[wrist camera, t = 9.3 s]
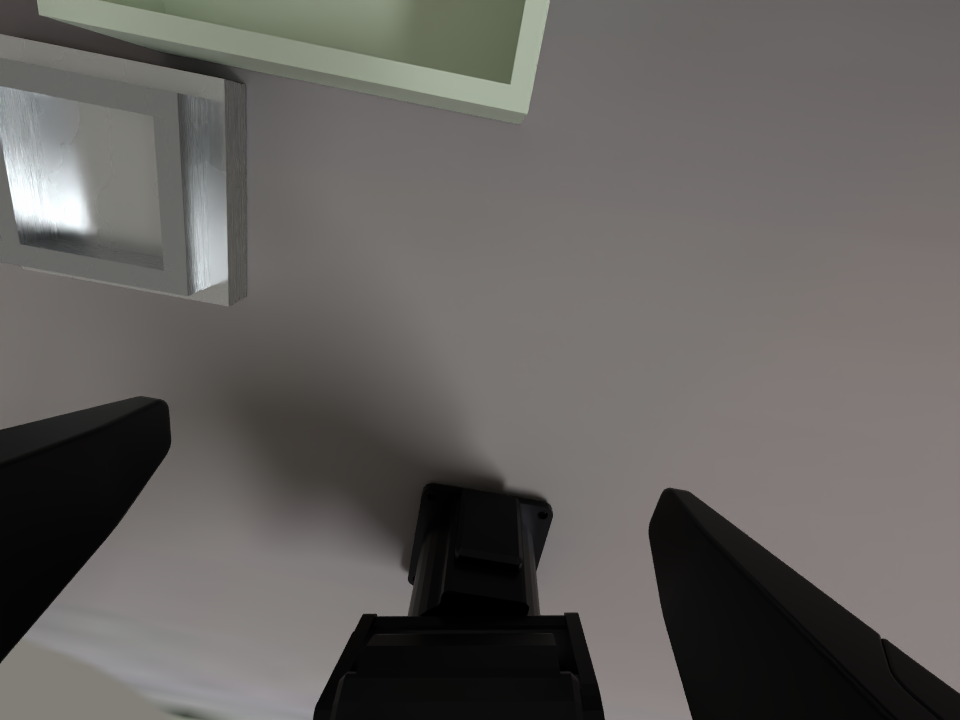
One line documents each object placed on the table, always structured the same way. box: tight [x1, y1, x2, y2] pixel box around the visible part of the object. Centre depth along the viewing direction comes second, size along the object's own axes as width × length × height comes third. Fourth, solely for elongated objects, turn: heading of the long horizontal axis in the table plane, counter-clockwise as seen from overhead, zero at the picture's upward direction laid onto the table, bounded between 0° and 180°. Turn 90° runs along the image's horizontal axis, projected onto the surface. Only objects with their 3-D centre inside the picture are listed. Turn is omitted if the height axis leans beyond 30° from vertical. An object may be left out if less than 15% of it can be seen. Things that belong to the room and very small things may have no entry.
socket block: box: [0, 34, 246, 306], centre depth 18 cm, size 8×8×3 cm
